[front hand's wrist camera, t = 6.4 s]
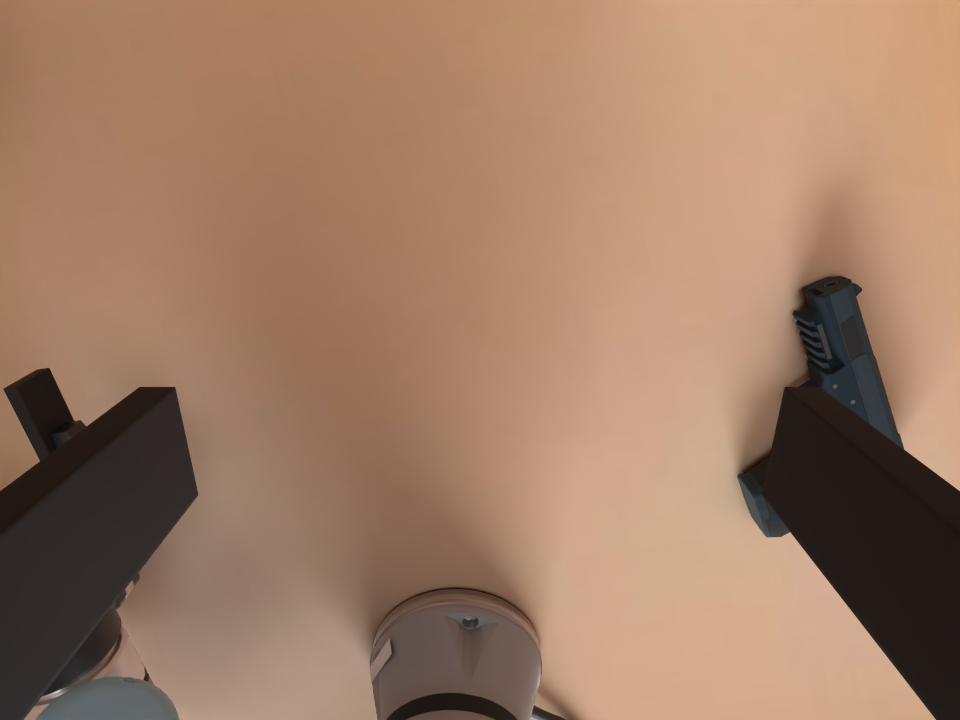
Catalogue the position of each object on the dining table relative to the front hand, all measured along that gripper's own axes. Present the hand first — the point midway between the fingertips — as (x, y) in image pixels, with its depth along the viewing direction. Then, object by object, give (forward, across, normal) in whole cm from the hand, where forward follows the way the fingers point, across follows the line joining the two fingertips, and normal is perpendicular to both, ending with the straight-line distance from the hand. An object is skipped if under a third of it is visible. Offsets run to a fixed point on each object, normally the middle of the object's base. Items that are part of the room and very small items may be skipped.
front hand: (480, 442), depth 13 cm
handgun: (+28, +24, -13) cm, 39 cm away
